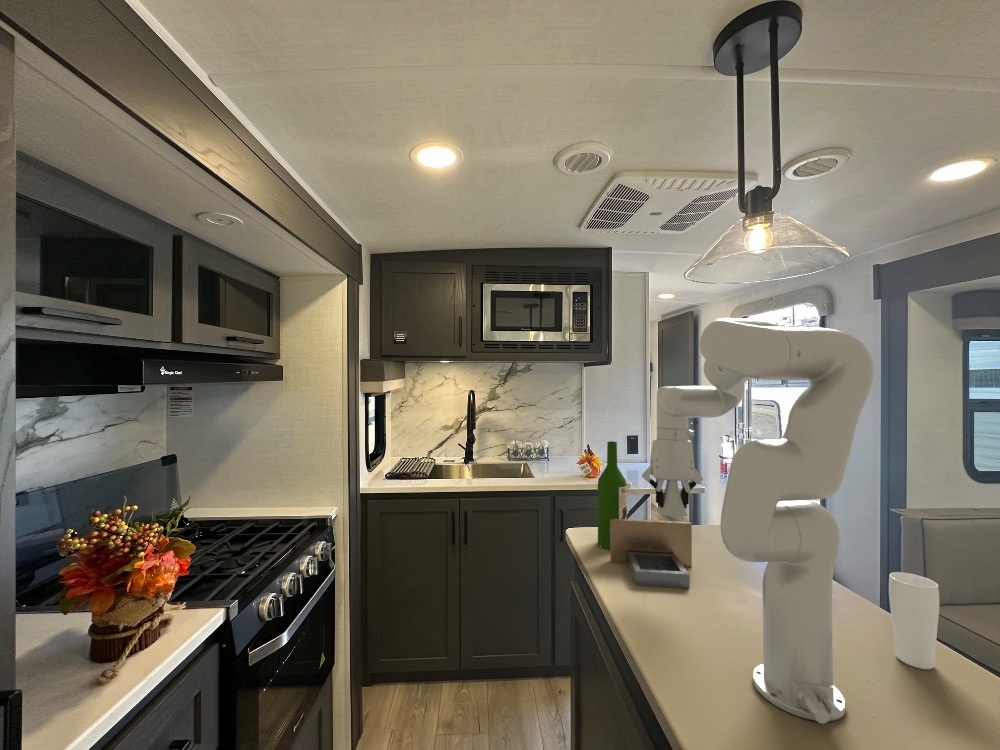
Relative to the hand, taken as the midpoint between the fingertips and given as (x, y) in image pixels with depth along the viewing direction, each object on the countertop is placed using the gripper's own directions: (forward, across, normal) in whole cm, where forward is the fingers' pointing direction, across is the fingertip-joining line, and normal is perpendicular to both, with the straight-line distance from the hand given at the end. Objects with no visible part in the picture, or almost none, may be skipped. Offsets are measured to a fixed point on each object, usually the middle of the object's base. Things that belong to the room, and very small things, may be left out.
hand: (671, 505), depth 111 cm
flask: (+2, 0, 0) cm, 2 cm away
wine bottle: (+21, +12, -26) cm, 35 cm away
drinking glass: (+20, -37, +26) cm, 49 cm away
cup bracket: (+20, +3, -6) cm, 21 cm away
